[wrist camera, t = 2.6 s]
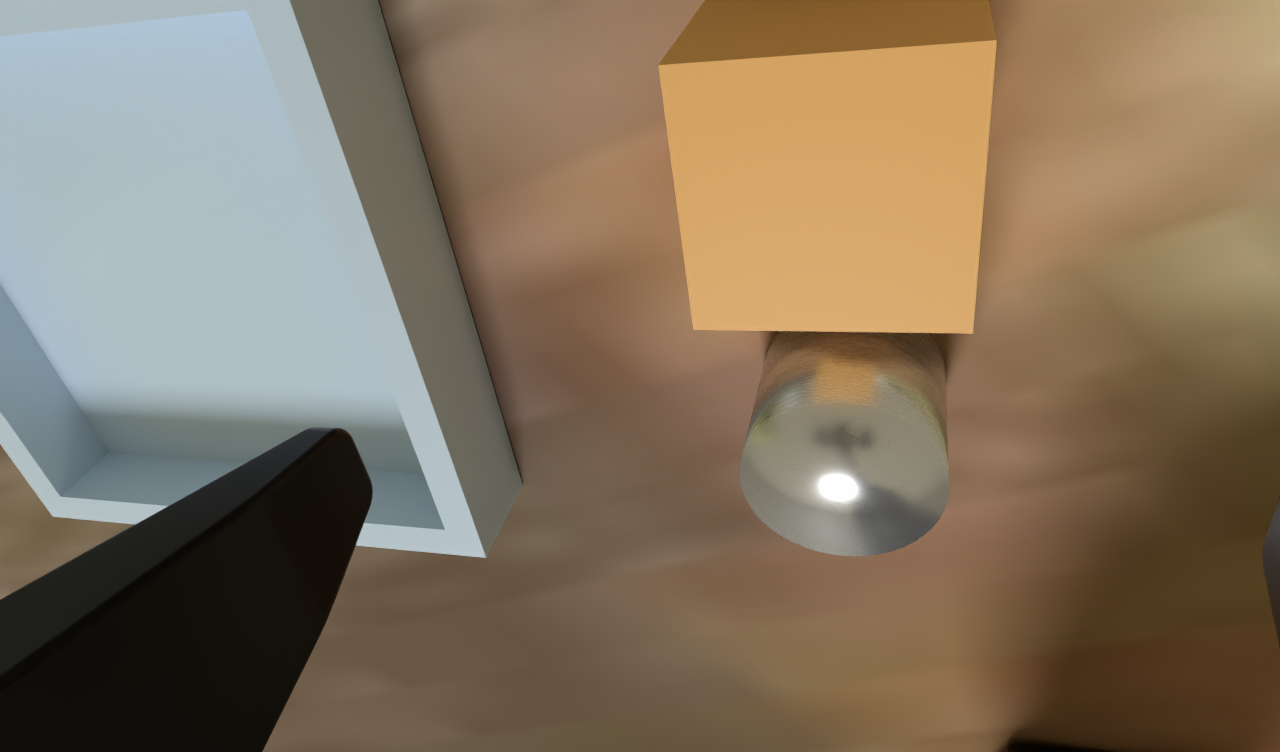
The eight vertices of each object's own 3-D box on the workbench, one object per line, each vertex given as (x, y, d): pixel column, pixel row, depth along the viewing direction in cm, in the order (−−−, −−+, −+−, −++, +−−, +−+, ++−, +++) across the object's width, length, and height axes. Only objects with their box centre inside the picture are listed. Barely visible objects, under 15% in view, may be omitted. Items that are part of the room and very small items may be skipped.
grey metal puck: (950, 300, 20) (954, 408, 17) (941, 447, 23) (943, 564, 20) (758, 299, 22) (731, 399, 19) (770, 439, 24) (747, 547, 21)
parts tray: (352, -84, 18) (270, -53, 16) (522, 485, 28) (486, 557, 25) (-182, -11, 23) (-306, 22, 21) (115, 457, 32) (52, 516, 30)
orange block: (975, -59, 16) (996, 39, 11) (960, 175, 19) (973, 333, 14) (729, -33, 17) (658, 65, 13) (746, 183, 20) (693, 329, 15)
